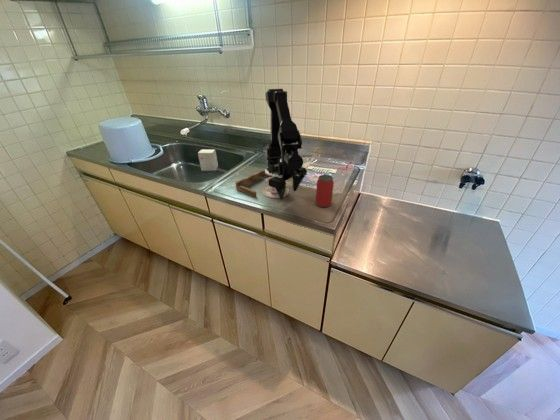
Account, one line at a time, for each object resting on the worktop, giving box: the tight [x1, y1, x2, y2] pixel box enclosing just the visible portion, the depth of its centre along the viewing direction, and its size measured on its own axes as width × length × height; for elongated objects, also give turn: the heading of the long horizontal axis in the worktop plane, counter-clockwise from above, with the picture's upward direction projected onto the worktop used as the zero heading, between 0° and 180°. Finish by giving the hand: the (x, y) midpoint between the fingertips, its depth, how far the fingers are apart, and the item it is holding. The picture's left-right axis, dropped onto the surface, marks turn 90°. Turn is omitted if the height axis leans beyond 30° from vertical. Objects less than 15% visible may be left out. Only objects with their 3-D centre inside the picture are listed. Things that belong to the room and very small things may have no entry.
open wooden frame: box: [235, 169, 275, 198], centre depth 116 cm, size 18×12×4 cm, turn 139°
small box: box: [197, 149, 219, 172], centre depth 132 cm, size 8×6×10 cm
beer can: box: [315, 174, 335, 208], centre depth 99 cm, size 7×7×12 cm
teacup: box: [262, 176, 290, 199], centre depth 110 cm, size 12×12×6 cm
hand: (288, 194), depth 105 cm, fingers open, 9 cm apart
